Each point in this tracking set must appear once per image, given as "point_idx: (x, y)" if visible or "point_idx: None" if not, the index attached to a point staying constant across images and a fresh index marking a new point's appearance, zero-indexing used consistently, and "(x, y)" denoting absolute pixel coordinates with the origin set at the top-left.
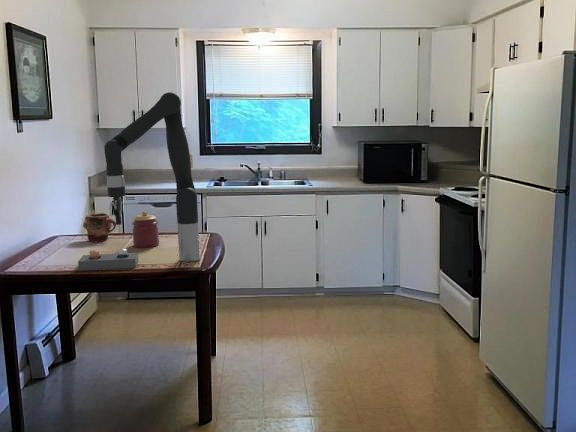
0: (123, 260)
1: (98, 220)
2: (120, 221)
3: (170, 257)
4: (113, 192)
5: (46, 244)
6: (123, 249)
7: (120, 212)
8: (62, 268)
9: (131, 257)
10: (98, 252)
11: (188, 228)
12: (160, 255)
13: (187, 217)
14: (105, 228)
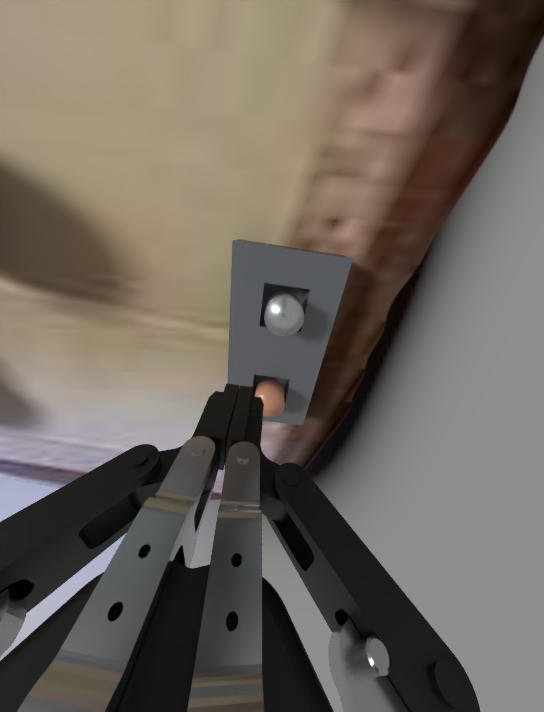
0: (337, 306)
1: None
2: (250, 404)
3: (195, 26)
4: None
5: (15, 461)
6: (283, 313)
7: (234, 484)
8: (263, 433)
9: (321, 275)
10: (276, 392)
11: None
12: (139, 104)
13: None
14: None
